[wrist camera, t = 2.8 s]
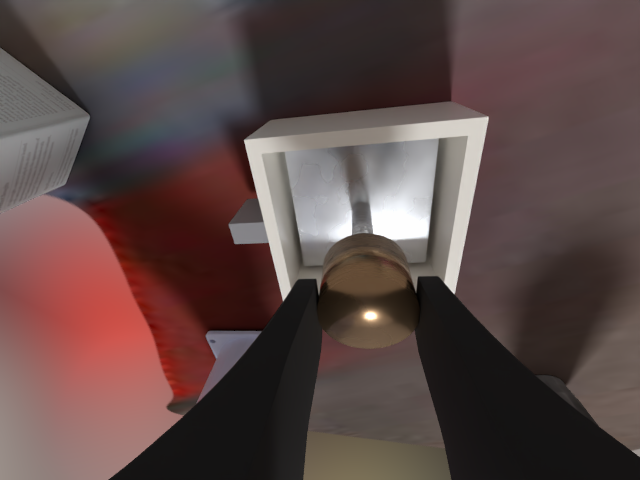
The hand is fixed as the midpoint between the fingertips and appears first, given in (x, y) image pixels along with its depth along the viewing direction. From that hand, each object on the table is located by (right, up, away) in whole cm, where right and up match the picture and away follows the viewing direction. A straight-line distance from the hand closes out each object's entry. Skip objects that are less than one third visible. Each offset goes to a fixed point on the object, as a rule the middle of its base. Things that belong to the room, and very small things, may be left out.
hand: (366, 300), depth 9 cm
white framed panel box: (0, +5, +8) cm, 9 cm away
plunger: (+1, +4, +6) cm, 7 cm away
